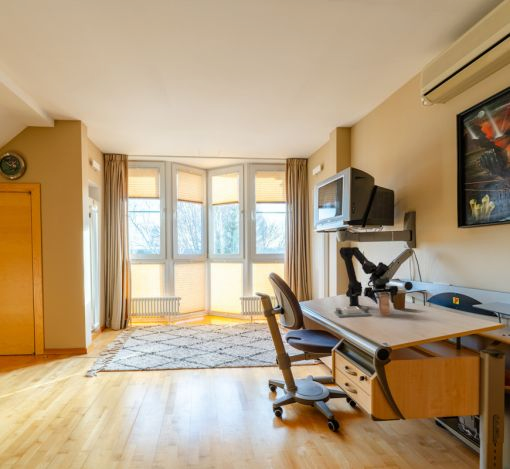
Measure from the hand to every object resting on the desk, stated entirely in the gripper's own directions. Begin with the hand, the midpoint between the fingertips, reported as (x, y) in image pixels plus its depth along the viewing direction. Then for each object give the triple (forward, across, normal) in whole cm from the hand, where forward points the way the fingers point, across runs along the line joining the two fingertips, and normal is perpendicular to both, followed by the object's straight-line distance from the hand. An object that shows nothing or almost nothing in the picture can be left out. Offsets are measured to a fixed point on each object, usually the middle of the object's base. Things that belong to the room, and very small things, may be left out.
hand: (384, 303), depth 201 cm
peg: (+4, 0, +6) cm, 7 cm away
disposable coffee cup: (-6, +13, +16) cm, 22 cm away
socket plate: (0, -17, +9) cm, 20 cm away
